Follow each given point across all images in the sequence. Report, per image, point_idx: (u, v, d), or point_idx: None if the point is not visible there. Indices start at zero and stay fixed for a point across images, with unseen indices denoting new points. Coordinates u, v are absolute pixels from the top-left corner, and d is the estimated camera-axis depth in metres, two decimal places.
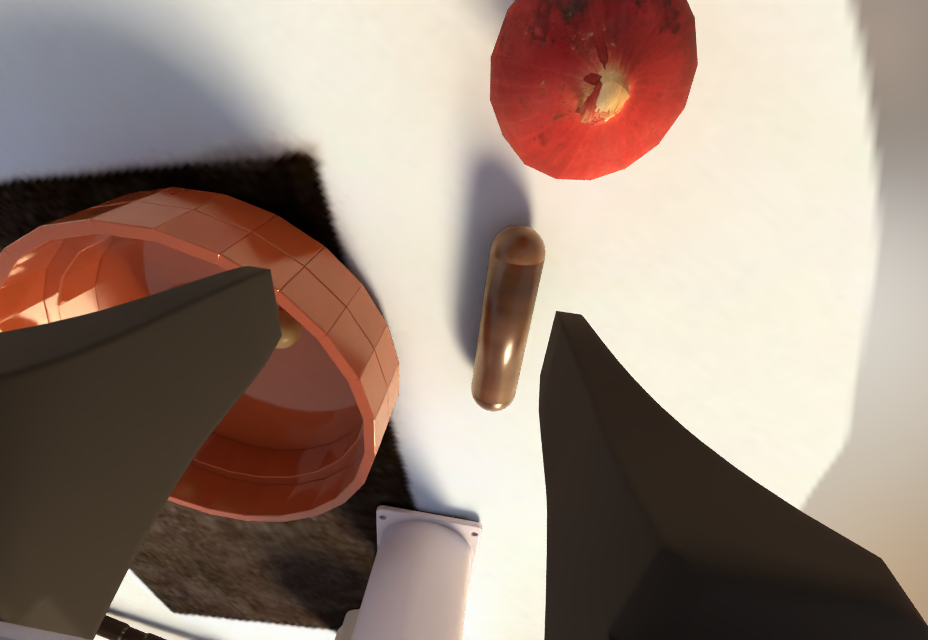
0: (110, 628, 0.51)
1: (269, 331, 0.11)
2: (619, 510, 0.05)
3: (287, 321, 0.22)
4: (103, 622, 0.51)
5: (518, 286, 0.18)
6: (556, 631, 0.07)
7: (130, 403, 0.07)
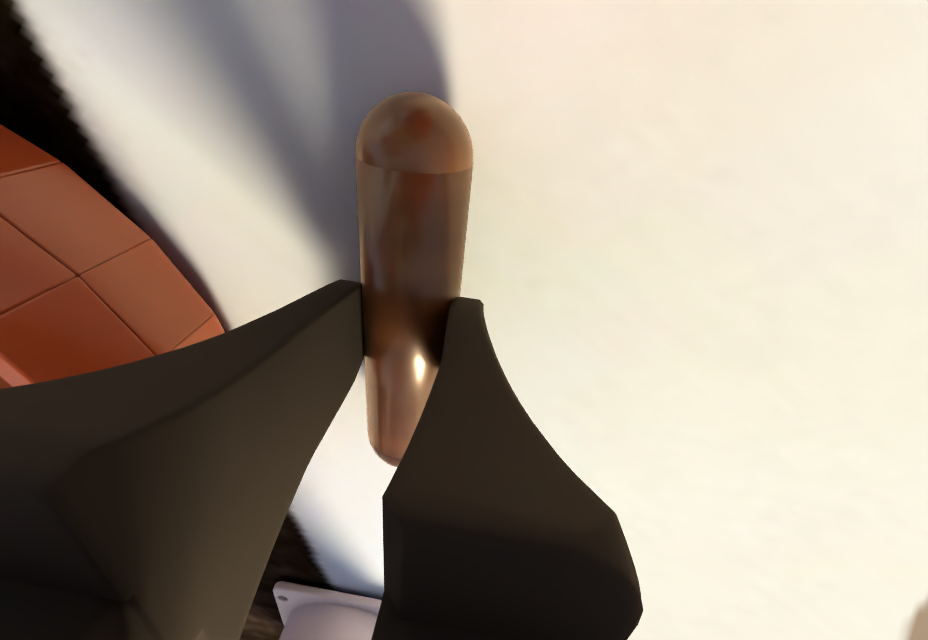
0: None
1: (359, 345, 0.11)
2: None
3: None
4: None
5: (411, 225, 0.08)
6: None
7: (267, 426, 0.07)
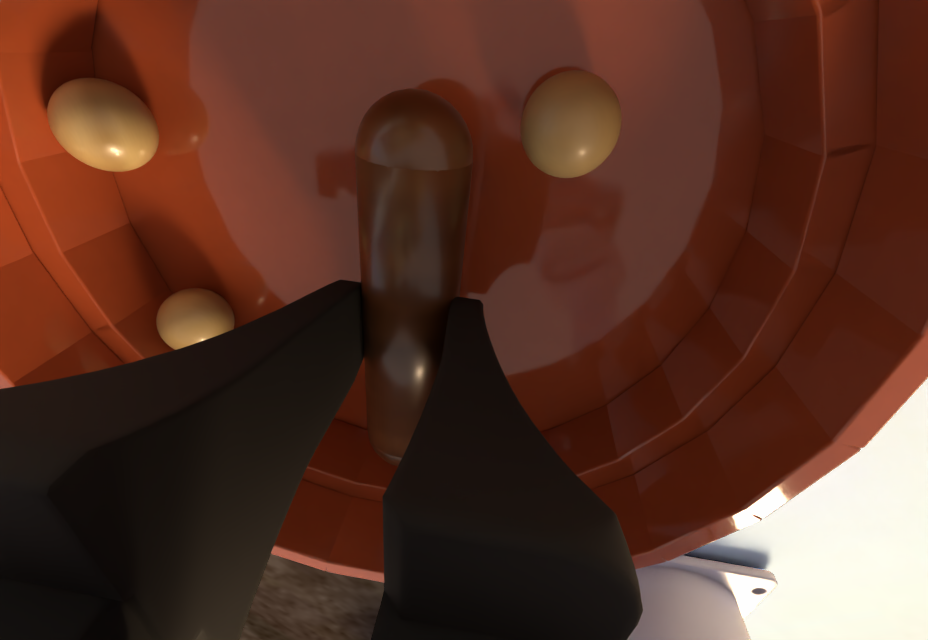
0: None
1: (360, 345, 0.11)
2: None
3: (609, 89, 0.08)
4: None
5: (410, 222, 0.08)
6: None
7: (266, 426, 0.07)
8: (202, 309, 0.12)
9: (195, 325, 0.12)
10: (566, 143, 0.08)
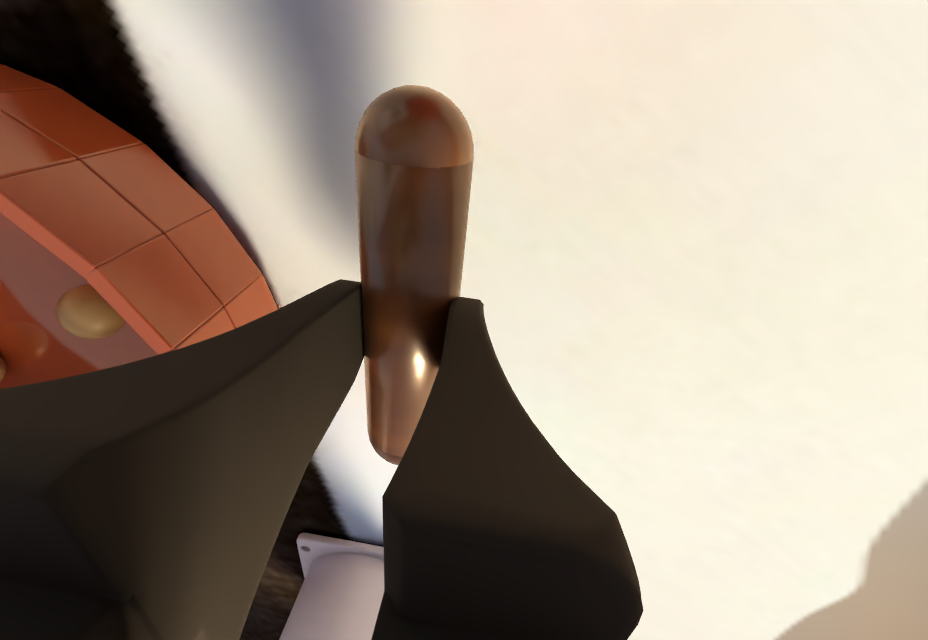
0: None
1: (359, 345, 0.11)
2: None
3: (59, 304, 0.15)
4: None
5: (410, 220, 0.08)
6: None
7: (266, 426, 0.07)
8: None
9: None
10: None
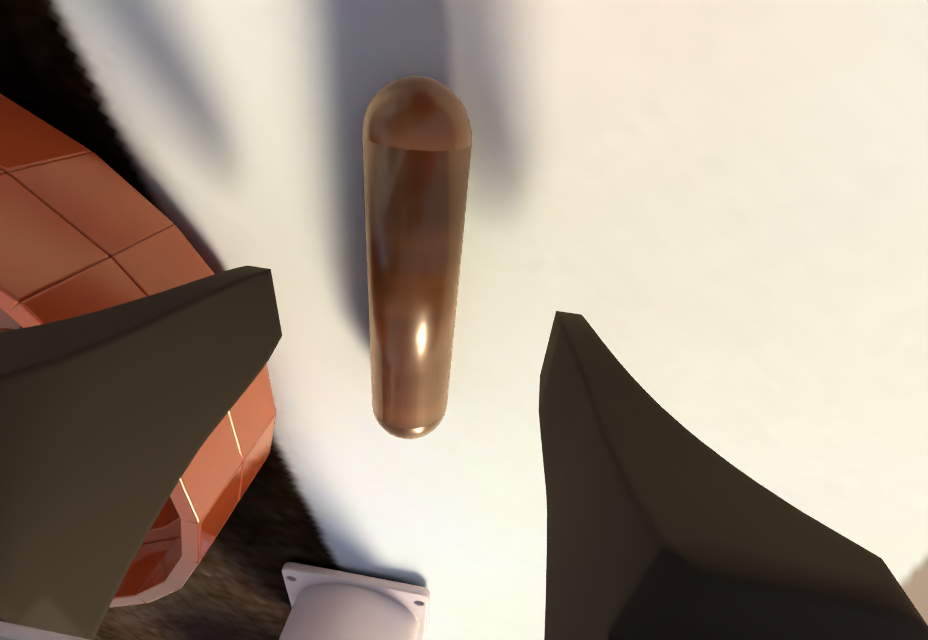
0: None
1: (269, 331, 0.11)
2: (619, 510, 0.05)
3: None
4: None
5: (406, 199, 0.09)
6: (556, 631, 0.07)
7: (130, 403, 0.07)
8: None
9: None
10: None
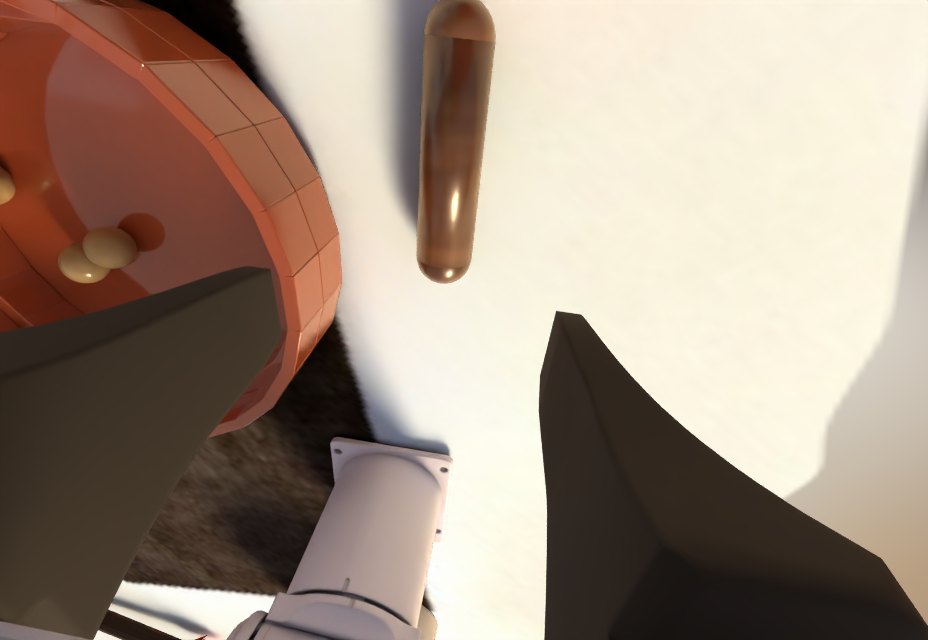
0: None
1: (269, 331, 0.11)
2: (619, 510, 0.05)
3: (104, 230, 0.20)
4: None
5: (447, 74, 0.14)
6: (556, 631, 0.07)
7: (130, 403, 0.07)
8: None
9: None
10: (99, 258, 0.20)
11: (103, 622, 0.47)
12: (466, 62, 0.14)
